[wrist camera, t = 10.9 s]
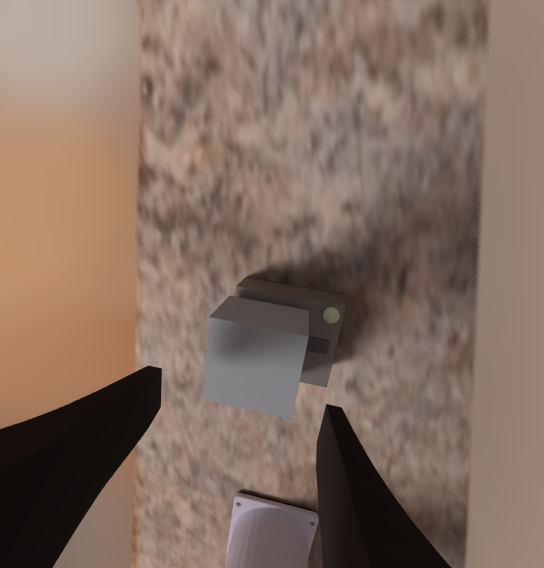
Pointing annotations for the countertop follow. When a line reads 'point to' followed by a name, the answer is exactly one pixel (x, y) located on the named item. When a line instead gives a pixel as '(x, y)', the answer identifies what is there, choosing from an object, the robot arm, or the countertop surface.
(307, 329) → the cap
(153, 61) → the countertop surface
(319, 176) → the countertop surface
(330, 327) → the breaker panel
